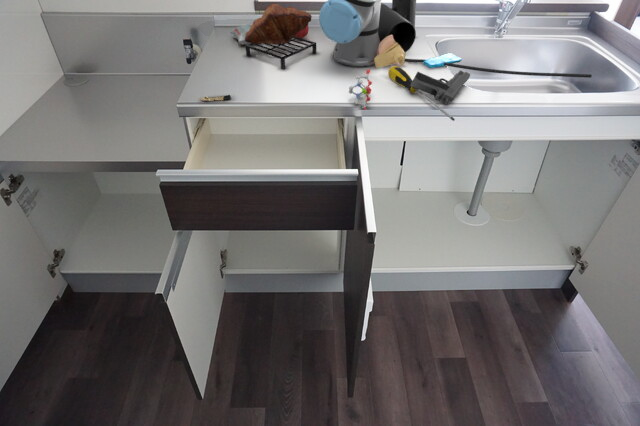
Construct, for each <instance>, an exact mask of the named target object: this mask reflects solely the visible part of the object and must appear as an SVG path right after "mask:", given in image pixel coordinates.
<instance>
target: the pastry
mask: <svg viewBox="0 0 640 426" xmlns="http://www.w3.org/2000/svg"><path fill="white" fill-rule="evenodd" d="M312 17H313V16H312V14H311V13H309V12H307V11H306V10H299V9H298V8H295V7H293V6H287V7H286V8H285V7H284V6H282V5H280V4H278V3H275V2H274V3H271V4H269V5H268V6H267V7H266V8H265V10H264V12H263V13H262V15H261V17H259V18H256V19H254V20H253V22H252V24H251V25H252V26H251V27H250V30H249V31H248V32H247V33H246V36H245V41H246V42H249V43H251V44H258V45H265V44H264V43H266V44H271V45H274V46H277V44H280V43H281V44H282V43H286V44H287V43H288V42H289V41H290V40H291V39H294V37H295V36H296V34H297V32H300V31H302V30H304V29H305V28H306V27H307V26H309V23H310V22H311V21H312Z"/></svg>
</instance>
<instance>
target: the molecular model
mask: <svg viewBox="0 0 640 426" xmlns="http://www.w3.org/2000/svg"><path fill="white" fill-rule="evenodd" d="M370 73H371V70H370V69H369V68H368V69H366V72H365V74H364V75H362V76H361V75H356V77H355V78H356V80H357V82H356V84H355V85H350V86H349V87H348V89H349V90H348V93H349V94H353V95H355V101H354V102H353V103H354V105H356V106H357V105H360V106H361V108H362V109H363V110H364V111H366V110H367V107H366V104H367V103H368V102H369V101H371V97H370V96H369V95H370V94H371V93H372V89H371V87H370V86H371V85H373V82H372V80H370V79H369V75H370ZM361 79H365V80H366V81H367V85H365V84H364V83H363V80H361ZM356 87H358V88H359V89H362V90H361V92H359V93H357V92H354V88H356ZM362 96H365V97H366V100H365V101H364V102H362V103H361V102H359V99H361V98H362Z"/></svg>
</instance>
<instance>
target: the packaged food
mask: <svg viewBox="0 0 640 426" xmlns="http://www.w3.org/2000/svg"><path fill="white" fill-rule="evenodd" d="M251 26H252V24H243V25H239V26H237V27H234V29H232V30H230V32H229V34H231V35H233V37H234V38H235V39H236V40H237V41H238V44H240V45H244V46H245V45H247V44H250V43H249V42H246V41H245V36H246V33H247V32H248V31H249V30H250V27H251Z"/></svg>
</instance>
